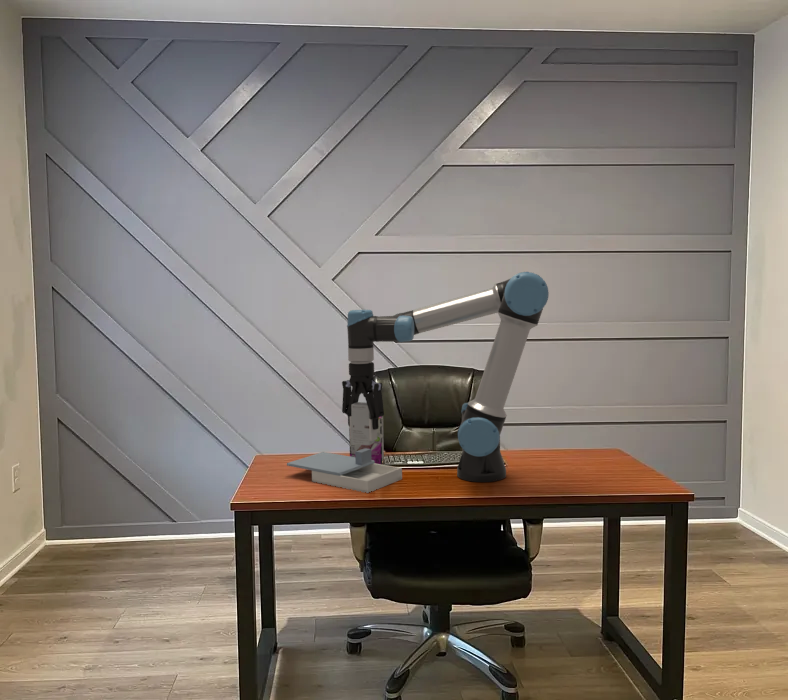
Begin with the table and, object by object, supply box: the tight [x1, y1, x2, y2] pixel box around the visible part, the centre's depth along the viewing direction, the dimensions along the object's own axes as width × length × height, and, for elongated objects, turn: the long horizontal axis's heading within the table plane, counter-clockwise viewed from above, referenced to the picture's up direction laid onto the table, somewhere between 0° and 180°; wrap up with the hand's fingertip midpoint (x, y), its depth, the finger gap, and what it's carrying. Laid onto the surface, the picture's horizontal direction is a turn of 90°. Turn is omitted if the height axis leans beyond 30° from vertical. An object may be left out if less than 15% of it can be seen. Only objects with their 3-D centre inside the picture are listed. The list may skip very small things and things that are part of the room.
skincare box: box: [351, 401, 375, 445], centre depth 207 cm, size 6×4×12 cm
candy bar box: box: [348, 416, 385, 465], centre depth 234 cm, size 11×5×16 cm, turn 84°
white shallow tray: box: [311, 463, 403, 494], centre depth 215 cm, size 22×17×4 cm
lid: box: [286, 448, 375, 476], centre depth 220 cm, size 22×17×5 cm
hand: (363, 438), depth 208 cm, fingers closed on skincare box, 7 cm apart
